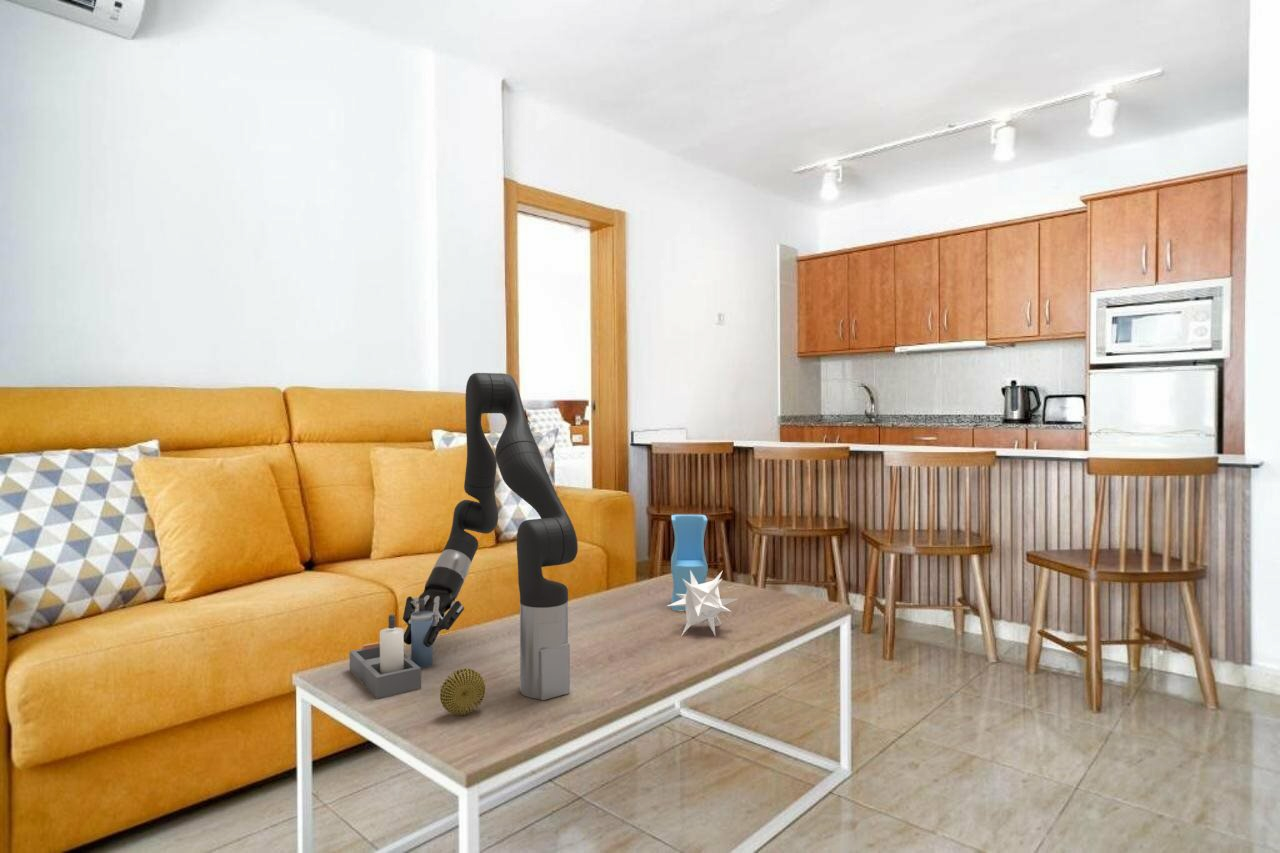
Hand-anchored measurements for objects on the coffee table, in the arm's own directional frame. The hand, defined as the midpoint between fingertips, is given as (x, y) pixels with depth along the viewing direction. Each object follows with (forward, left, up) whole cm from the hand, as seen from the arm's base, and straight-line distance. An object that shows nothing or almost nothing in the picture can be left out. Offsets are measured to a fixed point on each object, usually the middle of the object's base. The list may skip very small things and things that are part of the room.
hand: (416, 643), depth 149 cm
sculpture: (-28, +1, -5) cm, 28 cm away
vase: (+2, -78, -5) cm, 78 cm away
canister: (+1, -2, -5) cm, 5 cm away
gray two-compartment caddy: (-2, +7, -5) cm, 9 cm away
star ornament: (-17, -66, -5) cm, 68 cm away
